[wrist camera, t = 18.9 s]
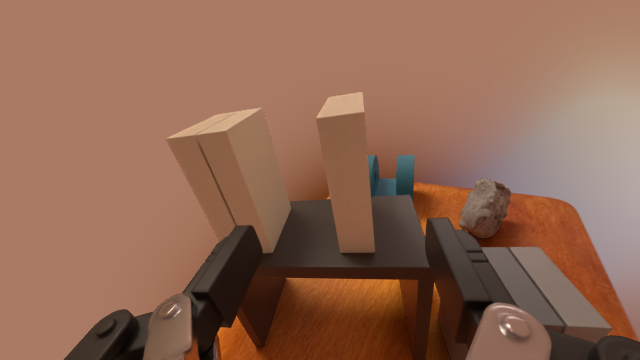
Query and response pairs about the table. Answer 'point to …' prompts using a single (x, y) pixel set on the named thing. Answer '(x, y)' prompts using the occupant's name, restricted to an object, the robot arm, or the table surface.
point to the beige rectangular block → (347, 170)
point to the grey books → (537, 296)
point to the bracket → (392, 186)
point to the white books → (235, 174)
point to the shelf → (345, 263)
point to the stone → (485, 208)
